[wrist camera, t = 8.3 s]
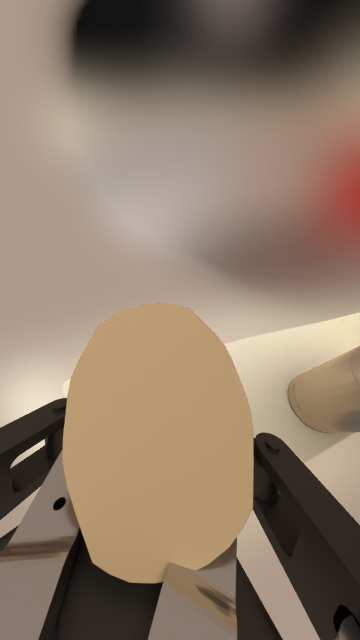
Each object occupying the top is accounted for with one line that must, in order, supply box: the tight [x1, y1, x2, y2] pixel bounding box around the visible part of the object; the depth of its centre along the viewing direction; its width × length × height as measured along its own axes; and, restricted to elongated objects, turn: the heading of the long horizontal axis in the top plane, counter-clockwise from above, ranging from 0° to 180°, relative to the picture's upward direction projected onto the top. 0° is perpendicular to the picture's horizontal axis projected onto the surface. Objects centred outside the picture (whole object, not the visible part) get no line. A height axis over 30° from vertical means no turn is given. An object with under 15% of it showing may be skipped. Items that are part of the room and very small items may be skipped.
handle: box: [63, 303, 254, 583], centre depth 11 cm, size 5×6×15 cm
